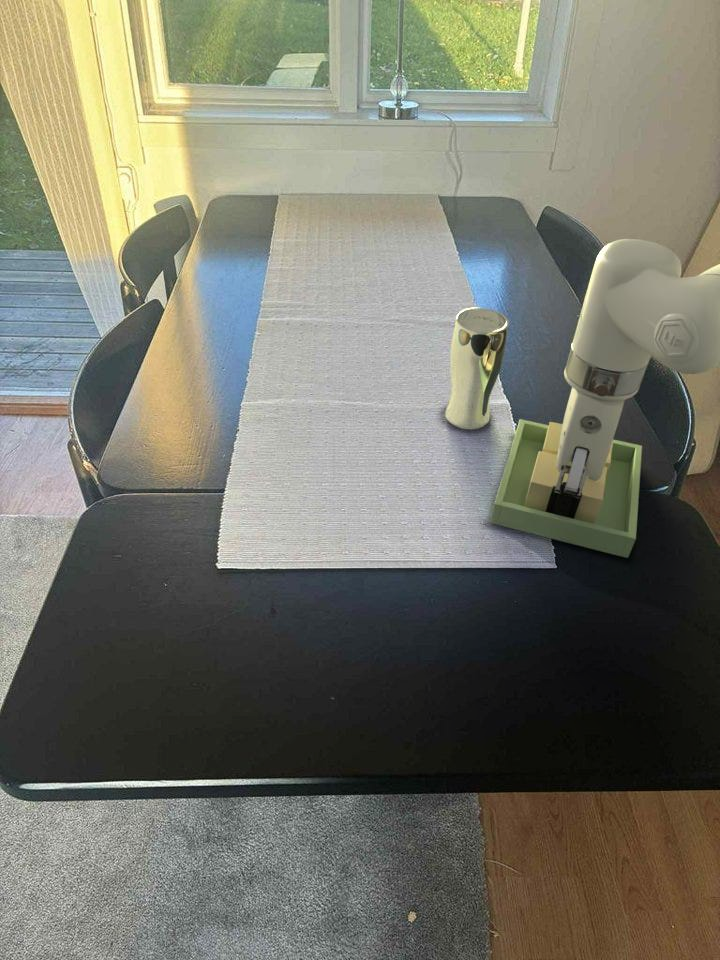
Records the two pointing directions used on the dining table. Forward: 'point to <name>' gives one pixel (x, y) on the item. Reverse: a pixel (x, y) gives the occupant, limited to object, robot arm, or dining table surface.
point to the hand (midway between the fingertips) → (563, 496)
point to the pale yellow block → (554, 439)
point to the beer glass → (475, 365)
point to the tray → (605, 535)
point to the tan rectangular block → (548, 476)
